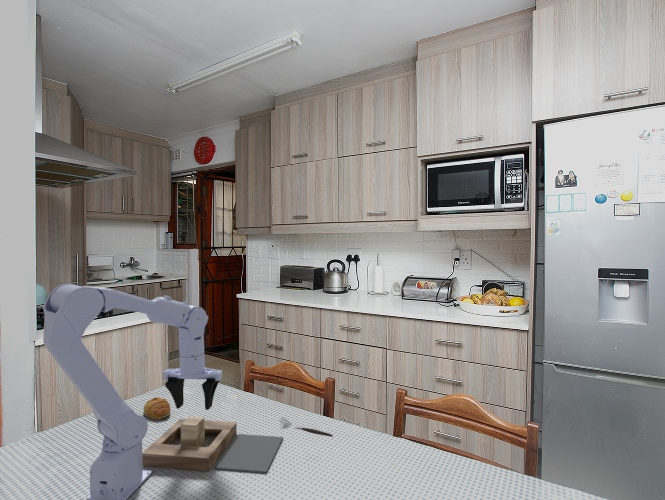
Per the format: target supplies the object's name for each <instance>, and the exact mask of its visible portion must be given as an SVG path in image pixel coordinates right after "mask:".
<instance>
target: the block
mask: <svg viewBox="0 0 665 500" xmlns="http://www.w3.org/2000/svg"><path fill="white" fill-rule="evenodd" d="M185 419H186V420H185V421H184V422H183V423H182V424H181V433H180V445H181V446H195V447H205V439H206V438H205V433H204V420H205V417H204V416H203V417H202V416H191V415H190V416H188V417H187V418H185Z"/></svg>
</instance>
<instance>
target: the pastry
mask: <svg viewBox="0 0 665 500" xmlns="http://www.w3.org/2000/svg"><path fill="white" fill-rule="evenodd" d="M143 414H144V415H145V416H146V417H148V418H149V419H152V420H158V421H159V420H162V419H165V418H167V417H169V416H170V414H171V405H170V403H169V401H168V400H167V399H165V398H162V397H157V396H156V397H153V398H151V399H150V400H148V401H147V402H146V403H145V404H144V406H143Z"/></svg>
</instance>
